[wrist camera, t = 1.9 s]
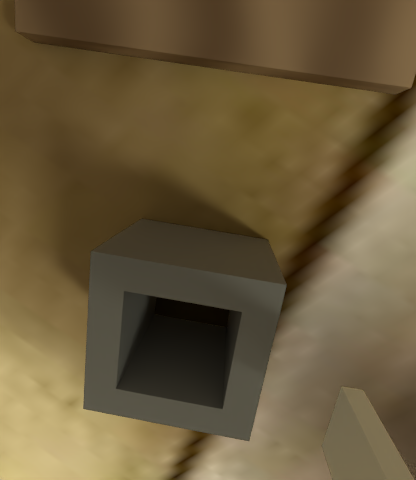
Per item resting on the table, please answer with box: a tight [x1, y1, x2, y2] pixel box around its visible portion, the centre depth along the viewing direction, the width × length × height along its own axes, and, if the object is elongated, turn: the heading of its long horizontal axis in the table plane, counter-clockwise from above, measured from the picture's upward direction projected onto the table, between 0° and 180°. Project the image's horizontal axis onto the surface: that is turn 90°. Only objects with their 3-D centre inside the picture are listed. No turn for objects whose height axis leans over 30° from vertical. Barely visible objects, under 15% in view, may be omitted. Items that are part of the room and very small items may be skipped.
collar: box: [83, 219, 287, 441], centre depth 17 cm, size 8×8×7 cm
